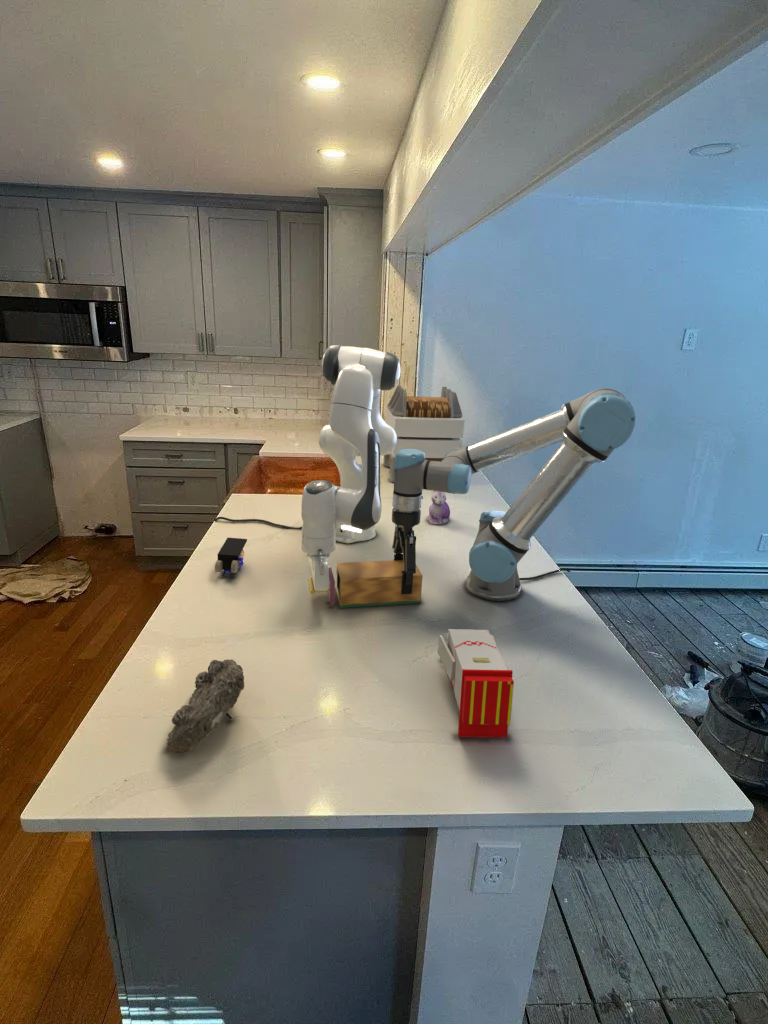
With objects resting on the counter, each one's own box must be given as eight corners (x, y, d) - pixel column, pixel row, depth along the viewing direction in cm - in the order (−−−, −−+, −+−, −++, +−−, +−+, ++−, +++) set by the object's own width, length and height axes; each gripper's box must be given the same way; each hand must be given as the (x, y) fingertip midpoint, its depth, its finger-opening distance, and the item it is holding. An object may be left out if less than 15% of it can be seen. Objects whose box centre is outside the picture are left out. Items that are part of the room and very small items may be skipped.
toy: (488, 613, 130) (523, 677, 101) (484, 667, 133) (517, 744, 104) (435, 612, 130) (455, 676, 101) (432, 666, 133) (451, 743, 103)
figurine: (435, 526, 207) (438, 487, 202) (421, 517, 216) (423, 479, 211) (456, 523, 212) (460, 485, 207) (441, 514, 220) (444, 477, 215)
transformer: (382, 463, 289) (386, 382, 275) (445, 464, 293) (451, 384, 279) (390, 482, 257) (394, 392, 243) (460, 483, 261) (468, 394, 247)
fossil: (192, 660, 117) (244, 628, 112) (224, 691, 120) (276, 661, 115) (142, 746, 98) (202, 712, 93) (182, 779, 101) (242, 748, 96)
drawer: (310, 605, 148) (310, 582, 146) (308, 589, 156) (308, 568, 154) (406, 599, 153) (407, 578, 151) (399, 584, 161) (400, 564, 159)
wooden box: (340, 607, 149) (341, 579, 146) (336, 590, 159) (336, 562, 156) (420, 603, 154) (422, 575, 151) (411, 585, 163) (413, 559, 160)
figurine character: (238, 584, 162) (249, 557, 175) (236, 562, 158) (247, 536, 172) (215, 584, 161) (227, 556, 175) (212, 561, 158) (225, 535, 171)
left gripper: (335, 559, 138) (334, 608, 143) (326, 528, 157) (326, 573, 162) (309, 560, 137) (309, 610, 142) (303, 529, 156) (304, 574, 160)
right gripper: (432, 523, 139) (425, 603, 147) (410, 494, 160) (406, 566, 167) (402, 524, 138) (397, 605, 145) (384, 495, 158) (381, 567, 166)
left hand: (318, 590), depth 152 cm, fingers closed
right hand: (402, 584), depth 156 cm, fingers closed on wooden box, 10 cm apart
